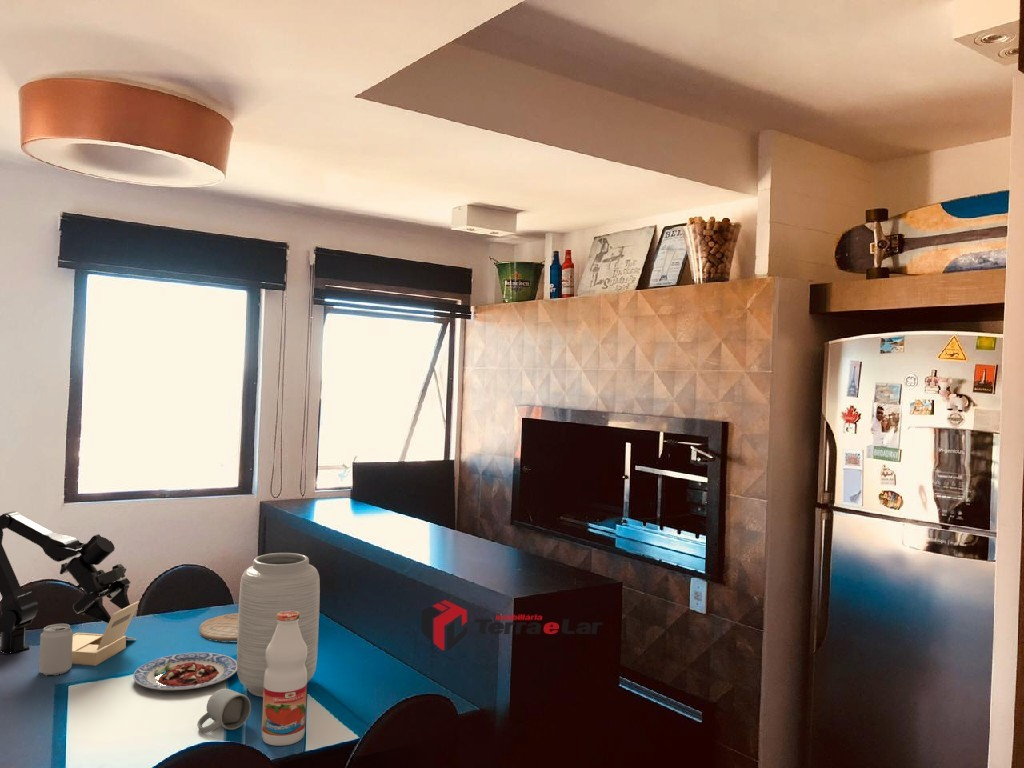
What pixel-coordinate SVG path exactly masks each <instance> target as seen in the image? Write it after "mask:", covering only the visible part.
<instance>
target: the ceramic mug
mask: <svg viewBox="0 0 1024 768" xmlns="http://www.w3.org/2000/svg"><path fill="white" fill-rule="evenodd" d="M207 700H208V701H207V703H206V713H204V715H202V716H201V717H200V718H199V719H198V721H197V725H196V726H197V728H198V731H199V732H201V733H203V734H207V733H211V732H213V731H215V730H216V729H218V728H219V727H222V728H223V729H225V730H230V731H231V730H232V731H234V730H236V729H238V728H240V727H242V726H244V725H245V723H246V722H247V720H248V719H249V717H250V714H251V711H252V703H251V700H250V699H249V697H248V696H247V695H246V694H242V693H240V692H238V691H235V690H232V689H229V688H221V689H218V690H217V691H215V692H213V693H212V694H211V696H210V697H209V699H207ZM209 719H211V720H212V721H214V722H213V723H210V724H208V725H206V726H203V724H204V723H206V721H208V720H209Z"/></svg>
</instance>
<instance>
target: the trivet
mask: <svg viewBox="0 0 1024 768" xmlns="http://www.w3.org/2000/svg"><path fill="white" fill-rule="evenodd" d="M238 613H239V612H234V613H227V614H221V615H217V616H215V617H211V618H209V619H206V620H204V621H203V622H202V623H200V625H199V632H198V633H199V635H200V636H201V637H202V636H203V637H205V638H207V639H206V640H208V639H211V640H217V641H237V638H238ZM203 637H202V638H203ZM205 638H204V639H205ZM211 640H210V641H211ZM217 641H216V642H217Z"/></svg>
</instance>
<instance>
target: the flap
mask: <svg viewBox="0 0 1024 768" xmlns="http://www.w3.org/2000/svg"><path fill="white" fill-rule="evenodd" d="M139 604H140V601H139V600H138V601H135V602H134V603H131V604H130V606H128V607H126V608H123V609H121V608H120V609H119V610H117V611H116V612H114V613H112V614H111V619H110V621H109V623H107V626H106V628H105V630H104V633H103V634H104V635H103V637H102V639H101V641H100V644H99V646H98V648H97V650H99V649H101V648H103V647H104V646H106V645H108V644H110V643H112V642H113V641H115V640H117V639H119V638H121V637H122V636H126V632H127V630H128V628H129V625H130V624H131V621H132V619H133V616H134V614H135V612H136V610H137V608H138V605H139Z"/></svg>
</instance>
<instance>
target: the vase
mask: <svg viewBox="0 0 1024 768" xmlns="http://www.w3.org/2000/svg"><path fill="white" fill-rule="evenodd" d="M320 583H321V581H320V574H319V571H318V569H317V568H316V567H315V566H314V565H312V564H310V558H309V557H308V556H307V555H304V554H302V553H301V554H300V553H293V552H275V553H267V554H262V555H259V556H256V557H255V558H254V559H253V561H252V565H251V566H249V567H248V568H246V569H245V570H244V571H243V573H242V575H241V577H240V584H239V585H240V586H239V597H238V598H239V599H238V612H237V613H238V638H237V642H236V643H237V644H236V662H237V671H236V673H237V678H238V680H239V682H240V684H241V685H243V686H244V687H245V688H246V689H247V690H248V692H249V693H250V694H252V695H254V696H256V697H261V698H263V687H264V675H265V671H266V669H267V662H266V657H265V654H266V649H267V646H268V645H269V643H270V642H271V640H272V638H273V635H274V633H275V630H276V627H277V625H278V622H277V614H278V613H279V612H281V611H287V610H292V611H297V612H299V621H298V625H299V628H300V632H301V635H302V638H303V640H304V642H305V643H306V645H307V658H306V661H305V667H306V670H307V683H308V682H309V681H310V680H311V679H312V678H313V676H314V674H315V672H316V669H317V661H318V650H319V649H318V648H319V646H318V645H319V644H318V643H319V624H320V623H319V622H320V620H319V619H320V599H321V598H320V596H321V595H320V594H321V587H320Z"/></svg>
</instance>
